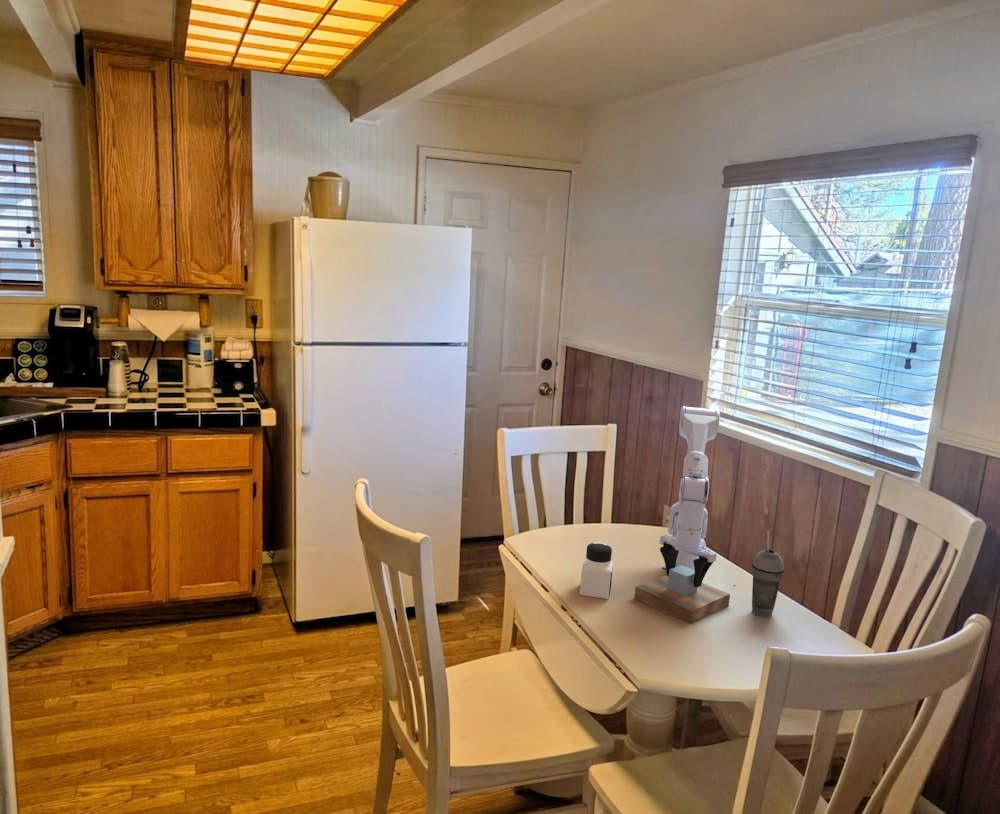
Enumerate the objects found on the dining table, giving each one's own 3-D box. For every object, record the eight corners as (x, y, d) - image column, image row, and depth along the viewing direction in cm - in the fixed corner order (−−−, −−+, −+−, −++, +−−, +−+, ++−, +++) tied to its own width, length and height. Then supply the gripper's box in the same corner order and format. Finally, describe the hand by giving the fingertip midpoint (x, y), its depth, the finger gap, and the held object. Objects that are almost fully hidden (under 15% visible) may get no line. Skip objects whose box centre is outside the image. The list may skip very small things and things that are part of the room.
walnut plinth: (673, 582, 194) (674, 571, 194) (728, 605, 183) (730, 593, 182) (634, 598, 184) (635, 586, 183) (690, 623, 172) (692, 610, 171)
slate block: (679, 584, 186) (681, 565, 185) (696, 591, 182) (699, 571, 182) (667, 589, 183) (669, 569, 182) (685, 596, 179) (687, 576, 178)
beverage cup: (762, 622, 175) (773, 539, 171) (739, 609, 181) (749, 529, 178) (784, 617, 178) (796, 536, 175) (761, 604, 184) (771, 526, 181)
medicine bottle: (609, 599, 182) (613, 552, 180) (579, 595, 183) (583, 548, 181) (610, 588, 189) (615, 542, 187) (582, 584, 190) (586, 538, 188)
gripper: (654, 521, 182) (649, 574, 185) (706, 539, 172) (700, 595, 174) (671, 516, 187) (666, 568, 189) (723, 533, 177) (717, 588, 179)
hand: (683, 580), depth 182 cm, fingers open, 7 cm apart
